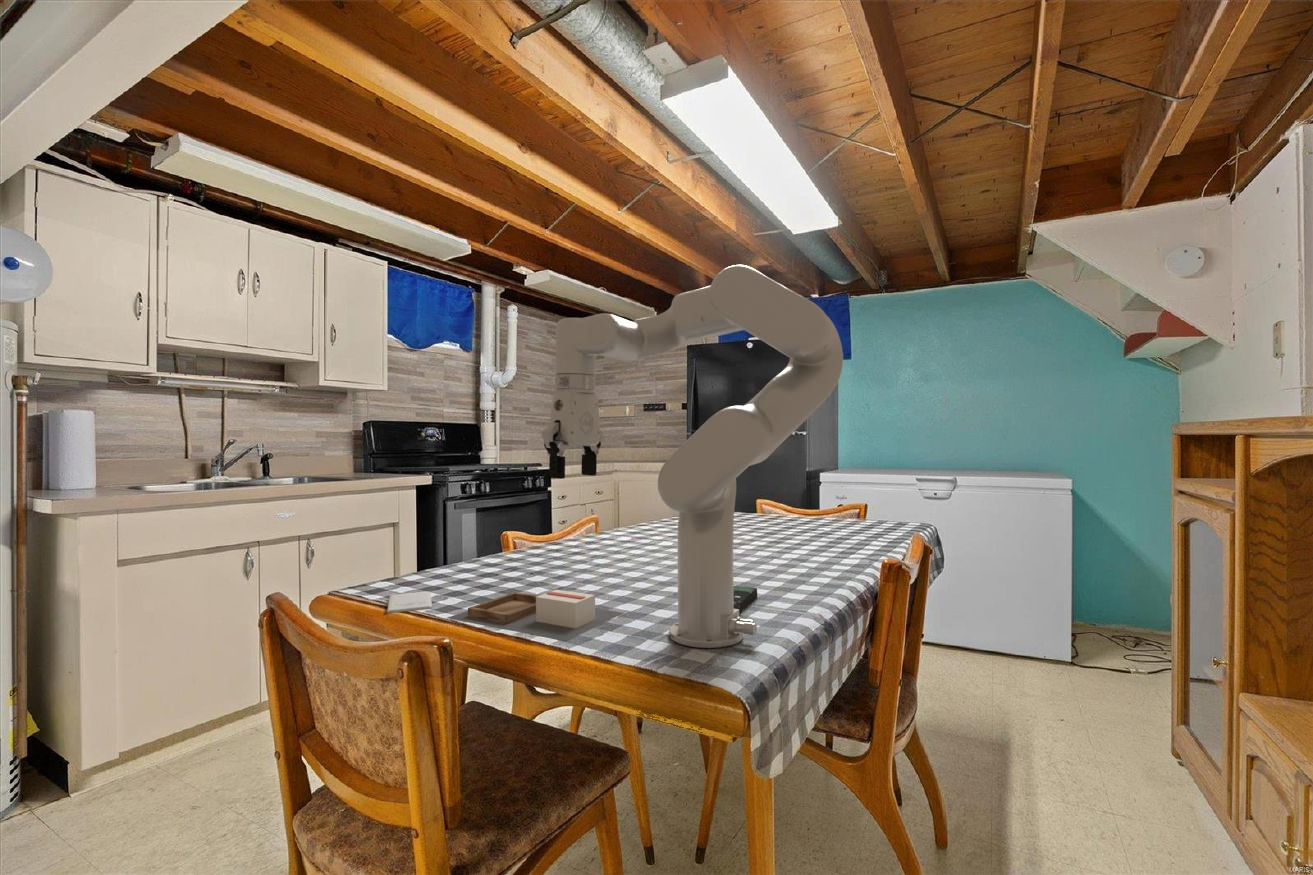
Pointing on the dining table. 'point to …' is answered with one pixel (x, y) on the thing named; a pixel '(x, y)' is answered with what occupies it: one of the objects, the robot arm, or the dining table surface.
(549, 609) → the block
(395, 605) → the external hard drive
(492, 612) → the tray
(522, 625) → the mat
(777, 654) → the dining table surface
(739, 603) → the disk drive
